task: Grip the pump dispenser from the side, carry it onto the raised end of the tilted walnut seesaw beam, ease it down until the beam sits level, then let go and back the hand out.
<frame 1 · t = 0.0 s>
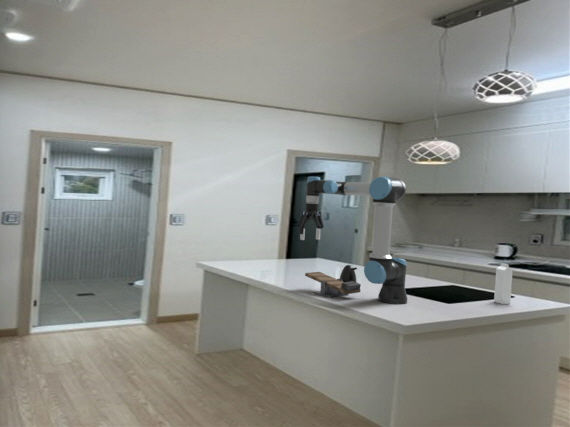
hand: (310, 239, 277), 28 cm above the countertop, tool pointing down, fingers open, 13 cm apart
milk: (502, 303, 265), on the countertop
pivot stand: (331, 294, 260), on the countertop
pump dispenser: (347, 291, 273), on the countertop
balance beam: (332, 279, 259), point 8 cm above the countertop, hinge at -10.0°
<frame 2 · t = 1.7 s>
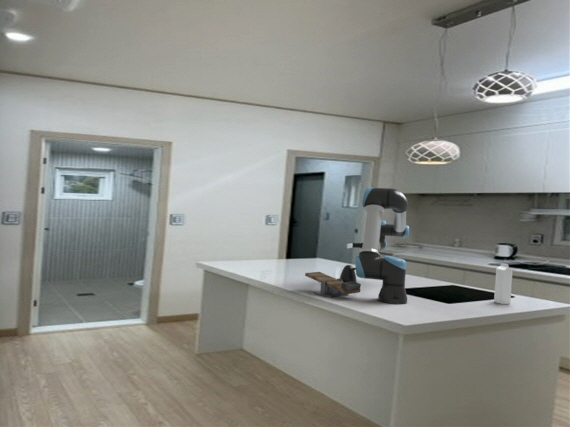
hand: (357, 247, 280), 25 cm above the countertop, tool horizontal, fingers open, 13 cm apart
nothing on the countertop moved.
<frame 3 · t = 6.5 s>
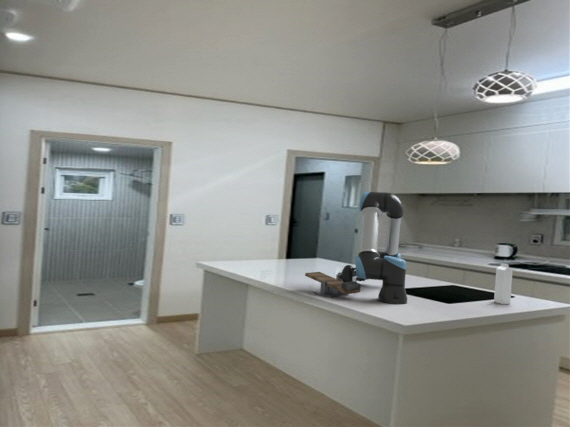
hand: (344, 278, 269), 8 cm above the countertop, tool horizontal, fingers closed on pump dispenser, 10 cm apart
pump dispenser: (347, 291, 273), on the countertop, touching gripper
everything else where it was.
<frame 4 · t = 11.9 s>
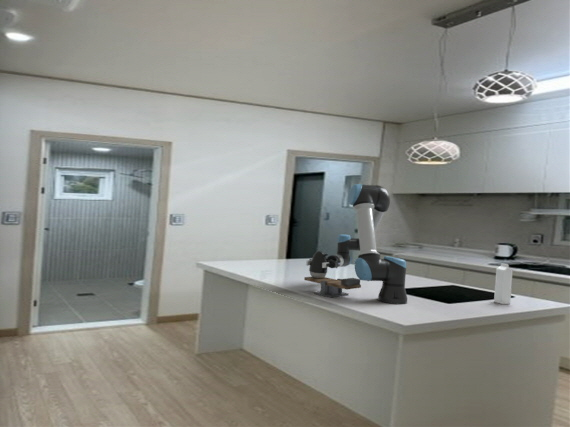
hand: (314, 264, 263), 16 cm above the countertop, tool horizontal, fingers closed on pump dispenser, 9 cm apart
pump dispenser: (317, 278, 267), point 7 cm above the countertop, touching balance beam, gripper
balance beam: (332, 279, 260), point 8 cm above the countertop, hinge at -0.3°, touching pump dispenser
everything else where it was.
when the fingers open (16 cm above the countertop, at t = 12.0 s): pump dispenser stays where it is, resting on balance beam.
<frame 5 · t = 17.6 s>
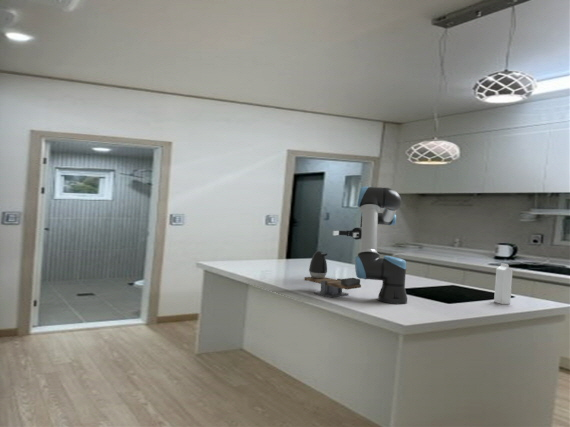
hand: (343, 234, 282), 32 cm above the countertop, tool horizontal, fingers open, 13 cm apart
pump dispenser: (317, 278, 267), point 7 cm above the countertop, touching balance beam
everything else where it was.
at the end: balance beam at +0° (first picture: -10°); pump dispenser inside the target area on the balance beam (0.4 cm from its centre), point 1.3 cm above the balance beam's base; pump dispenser tilted 0° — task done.
